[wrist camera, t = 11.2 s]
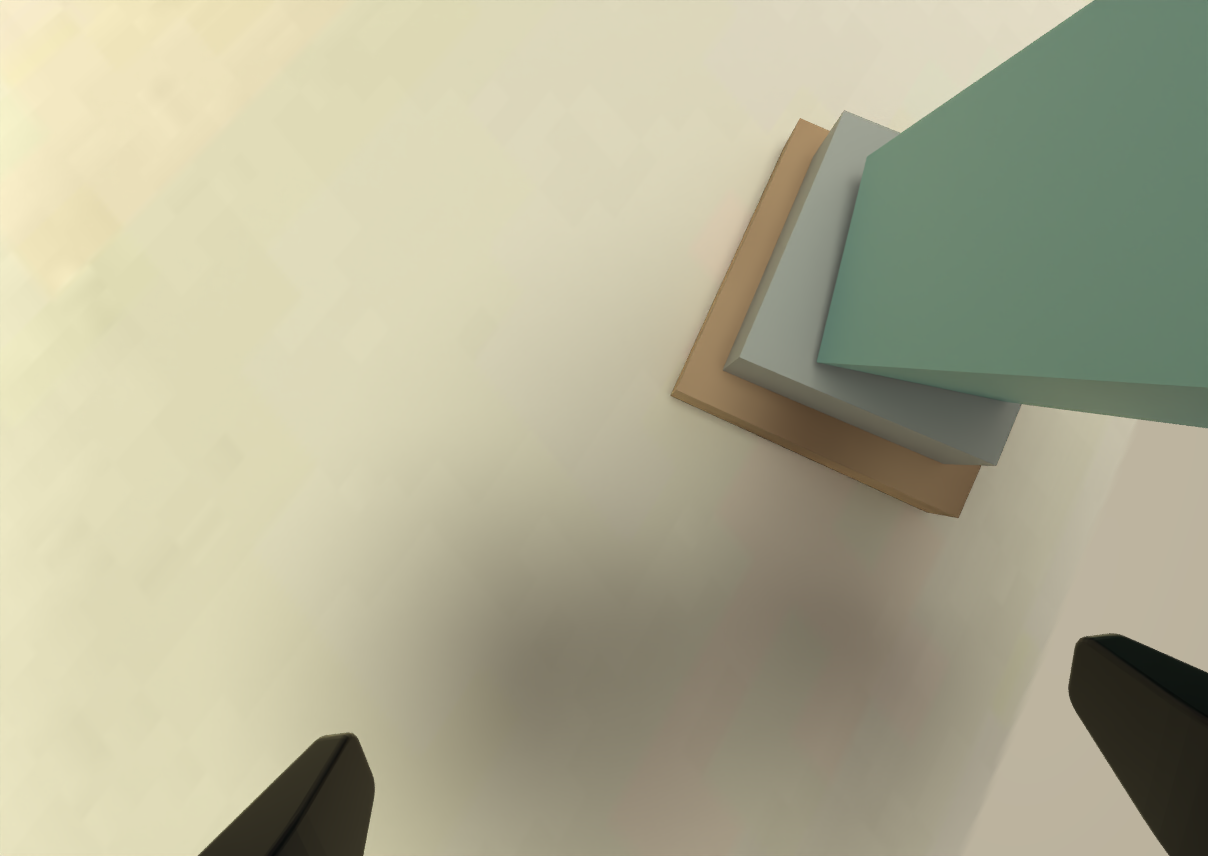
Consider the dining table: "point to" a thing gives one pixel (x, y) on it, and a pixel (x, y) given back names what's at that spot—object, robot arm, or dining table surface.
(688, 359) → the tower base block
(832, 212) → the tower middle block
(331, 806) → the robot arm
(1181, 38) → the tall teal block
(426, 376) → the dining table surface
